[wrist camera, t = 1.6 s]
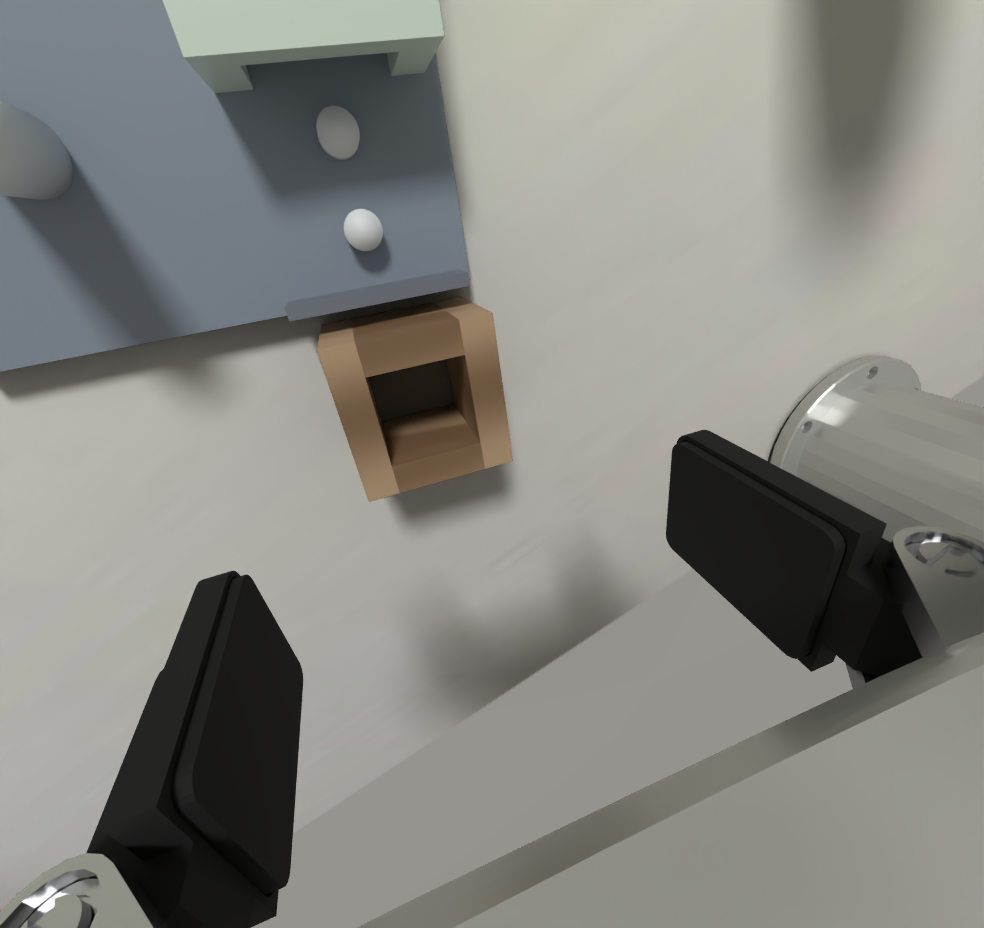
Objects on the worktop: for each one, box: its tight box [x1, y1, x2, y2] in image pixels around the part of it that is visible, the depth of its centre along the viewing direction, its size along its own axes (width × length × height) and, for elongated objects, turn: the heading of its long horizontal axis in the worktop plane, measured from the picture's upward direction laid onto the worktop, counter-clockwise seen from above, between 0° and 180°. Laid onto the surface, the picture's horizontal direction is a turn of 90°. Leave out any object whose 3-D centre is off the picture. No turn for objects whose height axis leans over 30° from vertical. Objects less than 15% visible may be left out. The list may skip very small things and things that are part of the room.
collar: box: [317, 297, 513, 502], centre depth 19 cm, size 6×6×5 cm
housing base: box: [0, 0, 471, 372], centre depth 11 cm, size 16×19×7 cm
